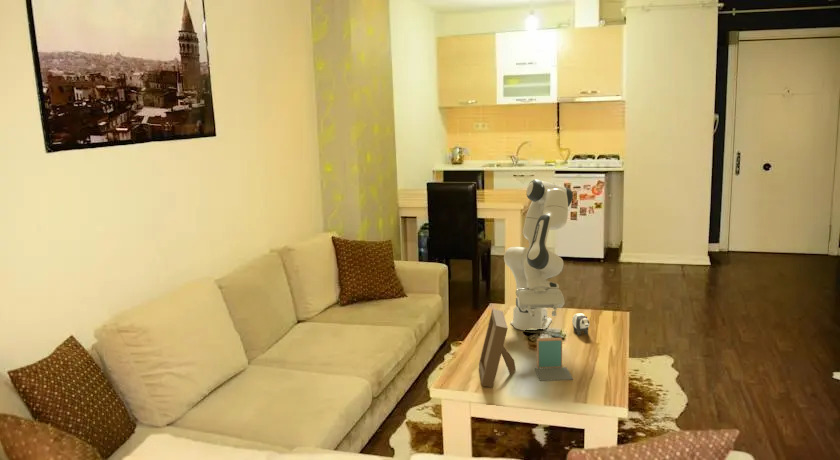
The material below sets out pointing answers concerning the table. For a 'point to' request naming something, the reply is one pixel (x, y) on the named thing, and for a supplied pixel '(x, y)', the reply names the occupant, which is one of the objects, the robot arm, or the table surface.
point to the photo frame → (494, 349)
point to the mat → (553, 374)
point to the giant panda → (580, 323)
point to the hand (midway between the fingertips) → (543, 315)
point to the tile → (549, 352)
